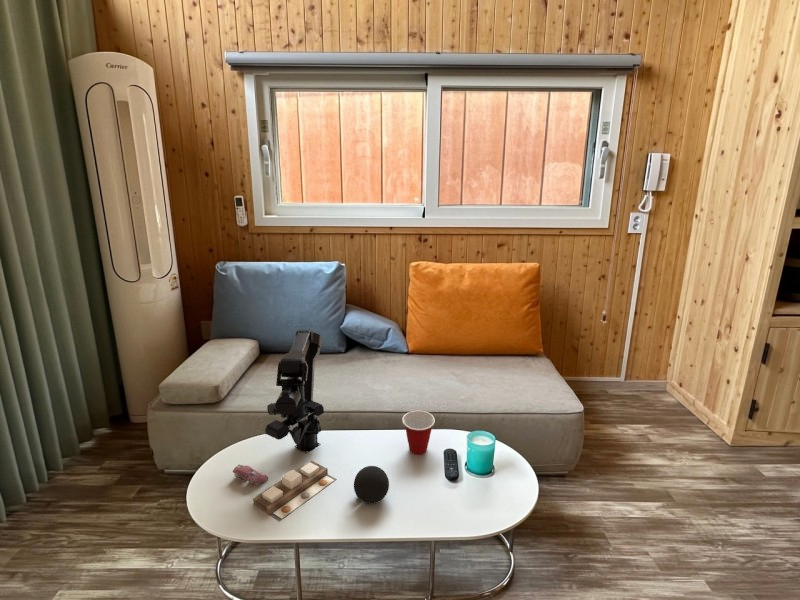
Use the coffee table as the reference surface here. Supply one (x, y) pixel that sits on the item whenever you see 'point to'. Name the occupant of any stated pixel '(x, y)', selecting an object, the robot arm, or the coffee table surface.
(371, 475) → the speaker
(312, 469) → the button
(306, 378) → the robot arm
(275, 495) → the button
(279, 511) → the button board
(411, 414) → the plastic cup
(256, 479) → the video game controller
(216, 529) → the coffee table surface
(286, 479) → the button middle
